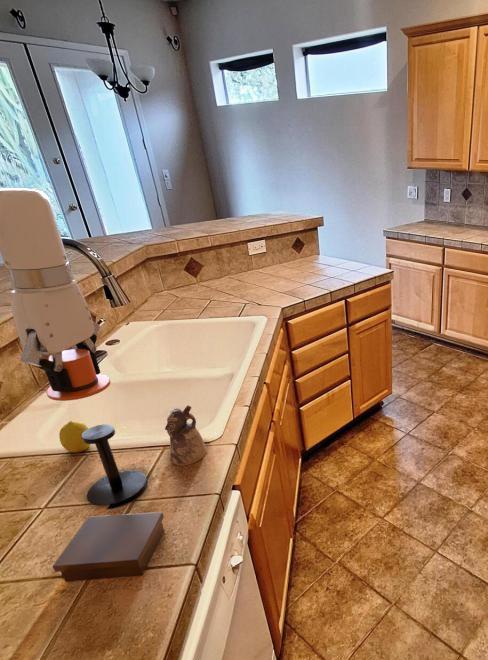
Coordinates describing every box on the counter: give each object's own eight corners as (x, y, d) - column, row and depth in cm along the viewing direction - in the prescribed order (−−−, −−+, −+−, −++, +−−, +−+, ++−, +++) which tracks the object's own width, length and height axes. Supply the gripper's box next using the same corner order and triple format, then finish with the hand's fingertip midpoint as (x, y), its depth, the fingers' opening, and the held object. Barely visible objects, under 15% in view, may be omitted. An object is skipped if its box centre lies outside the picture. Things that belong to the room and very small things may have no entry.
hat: (34, 401, 69) (20, 367, 67) (66, 377, 77) (55, 345, 75) (94, 400, 70) (83, 365, 68) (120, 375, 78) (111, 344, 76)
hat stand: (77, 511, 79) (51, 449, 73) (104, 476, 88) (83, 418, 82) (134, 507, 80) (113, 446, 74) (155, 473, 89) (138, 415, 83)
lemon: (68, 448, 96) (56, 418, 93) (97, 442, 98) (87, 412, 95) (64, 462, 92) (51, 431, 88) (95, 455, 94) (83, 425, 90)
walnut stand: (61, 584, 65) (52, 566, 64) (95, 534, 74) (88, 516, 73) (144, 577, 67) (137, 559, 65) (167, 528, 76) (162, 511, 74)
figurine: (168, 452, 96) (156, 405, 90) (202, 442, 99) (192, 397, 94) (173, 469, 90) (160, 421, 85) (209, 458, 94) (198, 411, 88)
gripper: (62, 264, 73) (92, 360, 81) (-36, 290, 58) (13, 406, 66) (104, 266, 73) (130, 362, 81) (17, 292, 58) (60, 408, 65)
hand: (77, 381), depth 73 cm, fingers closed on hat, 5 cm apart
